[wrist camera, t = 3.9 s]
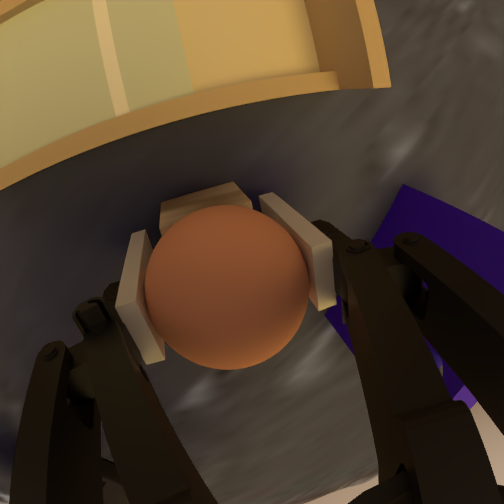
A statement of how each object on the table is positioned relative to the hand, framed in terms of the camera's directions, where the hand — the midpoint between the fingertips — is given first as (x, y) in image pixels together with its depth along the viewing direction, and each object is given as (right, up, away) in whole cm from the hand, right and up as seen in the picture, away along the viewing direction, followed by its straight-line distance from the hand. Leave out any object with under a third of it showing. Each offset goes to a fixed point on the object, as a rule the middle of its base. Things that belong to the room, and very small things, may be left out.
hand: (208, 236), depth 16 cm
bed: (-4, +10, -4) cm, 11 cm away
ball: (+1, -2, -4) cm, 5 cm away
